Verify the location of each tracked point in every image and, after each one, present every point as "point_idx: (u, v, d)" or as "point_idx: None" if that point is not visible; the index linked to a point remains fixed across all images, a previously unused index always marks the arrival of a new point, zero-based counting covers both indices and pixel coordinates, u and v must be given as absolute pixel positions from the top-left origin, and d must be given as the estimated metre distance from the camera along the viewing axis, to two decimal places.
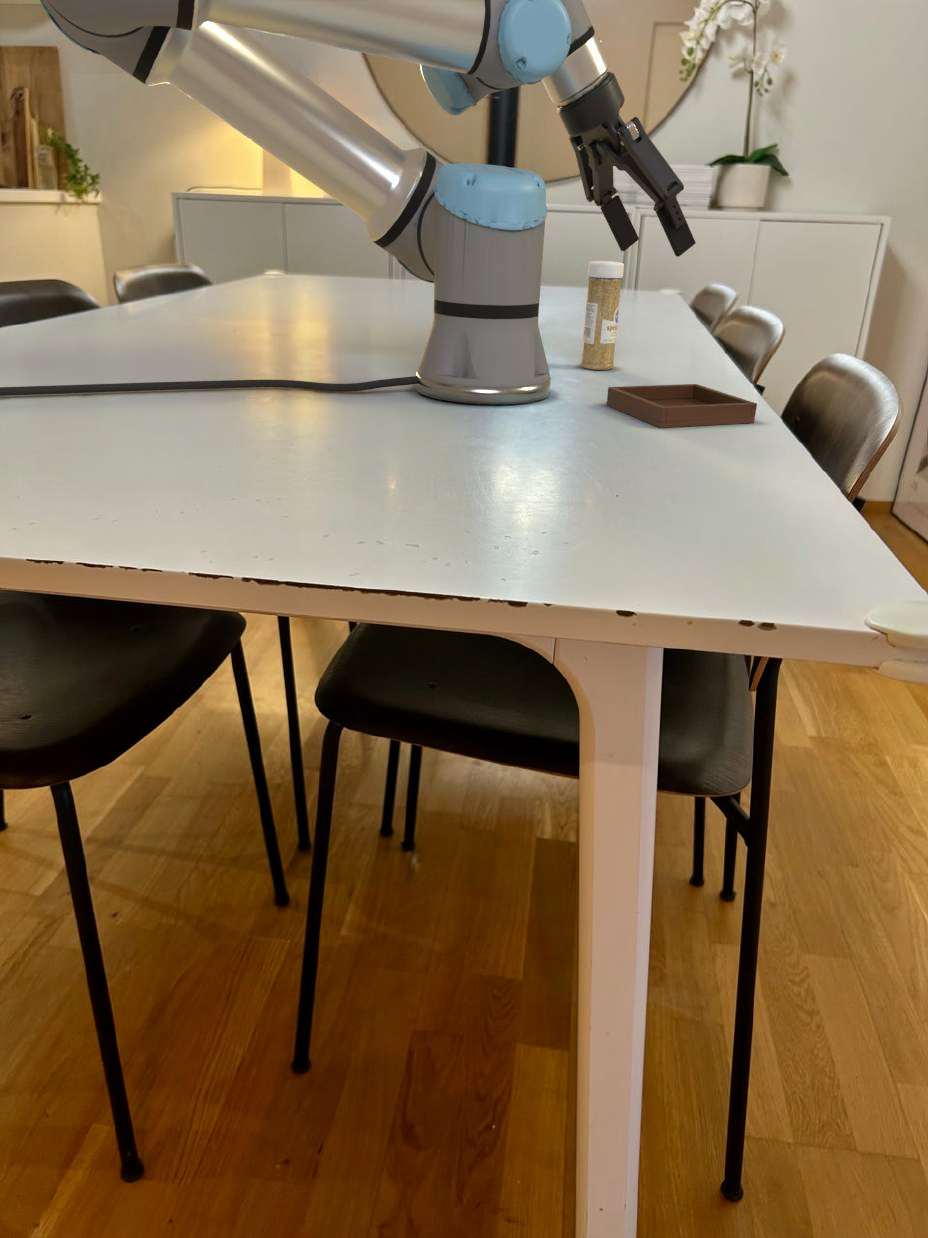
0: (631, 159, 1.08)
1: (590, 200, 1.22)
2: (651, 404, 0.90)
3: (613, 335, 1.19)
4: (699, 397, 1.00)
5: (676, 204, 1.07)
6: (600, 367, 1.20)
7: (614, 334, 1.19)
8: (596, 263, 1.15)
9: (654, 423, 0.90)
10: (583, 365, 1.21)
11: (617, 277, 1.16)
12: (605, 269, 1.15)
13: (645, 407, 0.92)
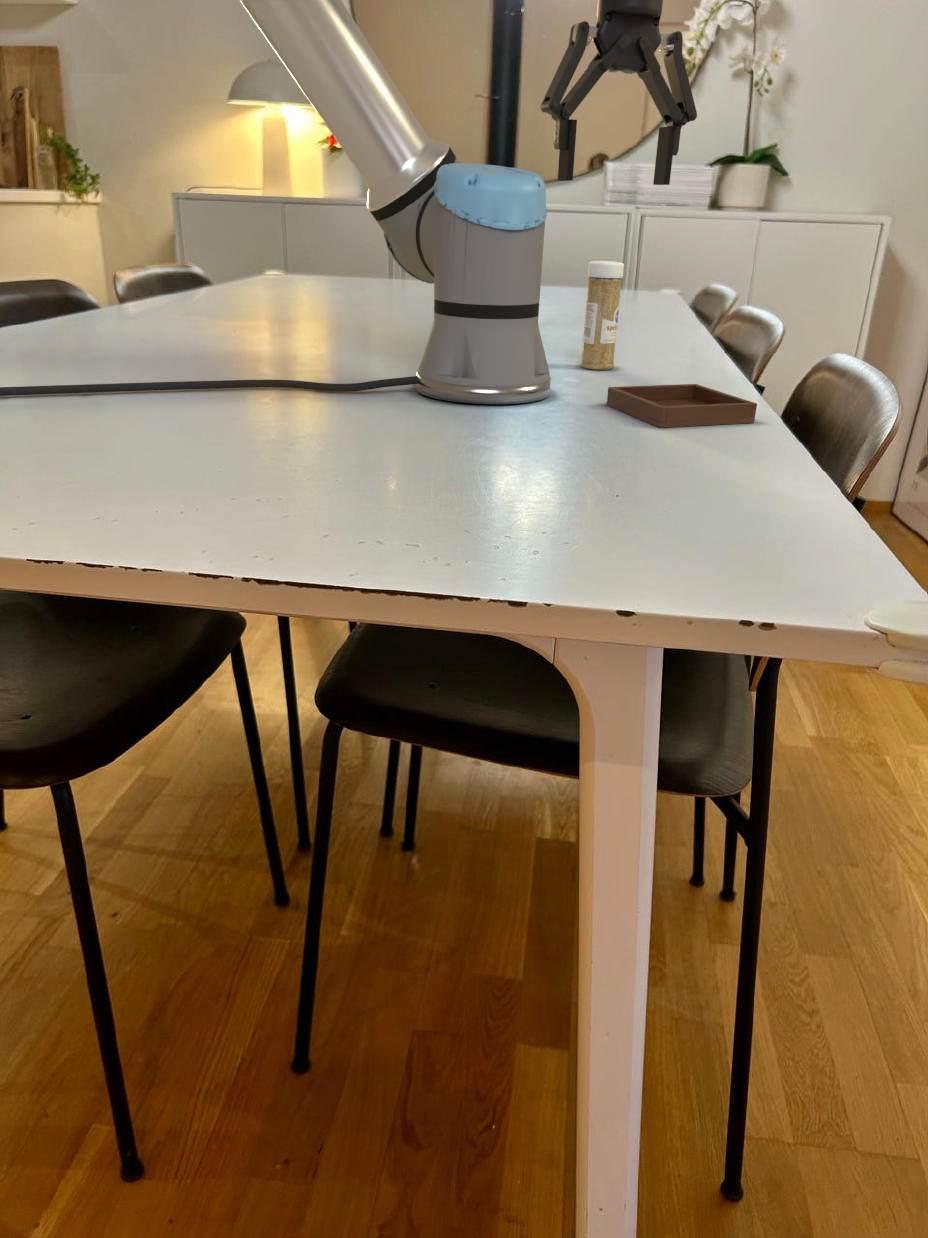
0: None
1: (555, 108, 1.06)
2: (651, 404, 0.90)
3: (613, 335, 1.19)
4: (699, 397, 1.00)
5: None
6: (600, 367, 1.20)
7: (614, 334, 1.19)
8: (596, 263, 1.15)
9: (654, 423, 0.90)
10: (583, 365, 1.21)
11: (617, 277, 1.16)
12: (605, 269, 1.15)
13: (645, 407, 0.92)
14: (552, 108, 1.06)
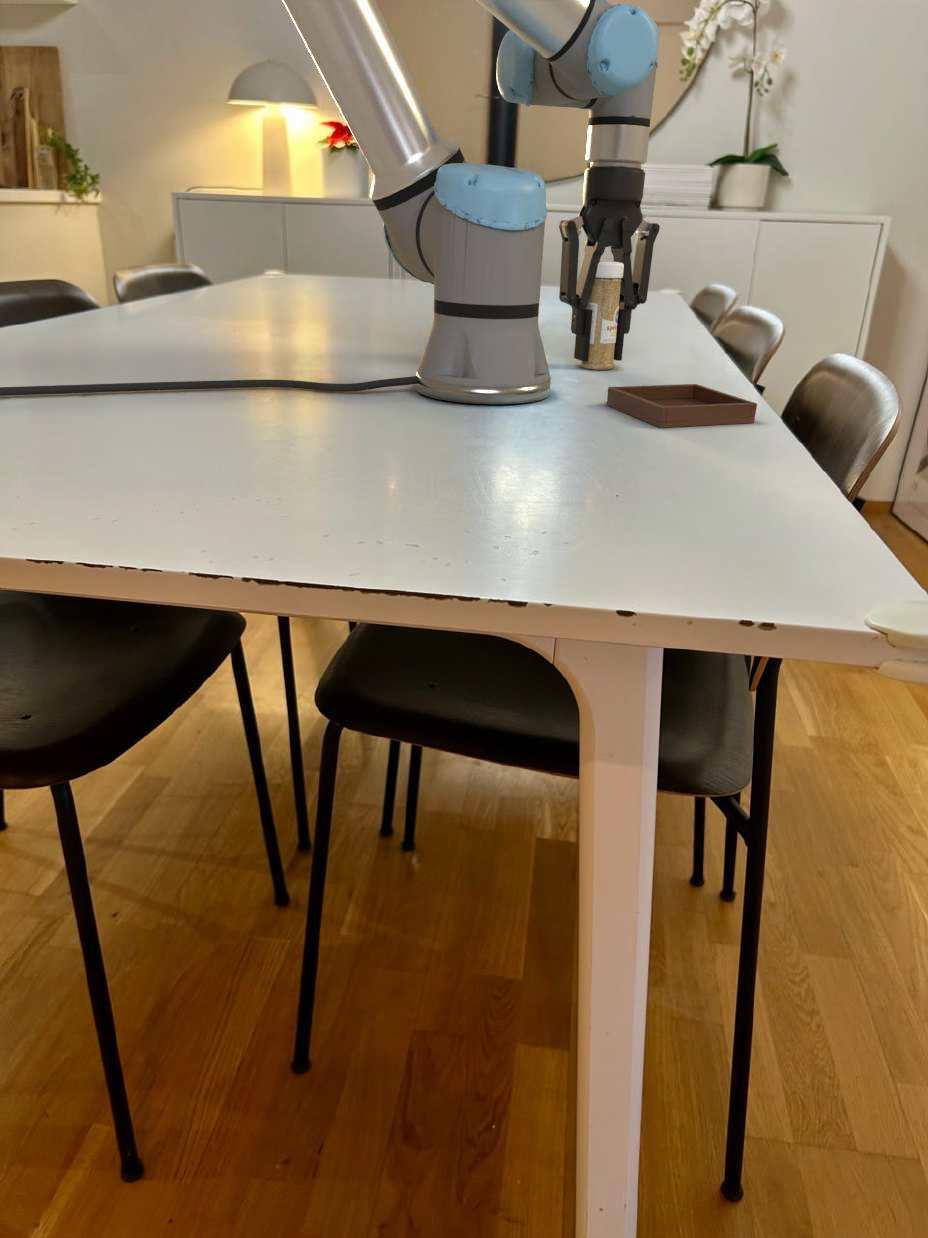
0: None
1: (574, 300, 1.16)
2: (651, 404, 0.90)
3: (613, 335, 1.19)
4: (699, 397, 1.00)
5: None
6: (600, 367, 1.20)
7: (614, 334, 1.19)
8: None
9: (654, 423, 0.90)
10: (583, 365, 1.21)
11: (617, 277, 1.16)
12: (605, 269, 1.15)
13: (645, 407, 0.92)
14: (571, 302, 1.16)
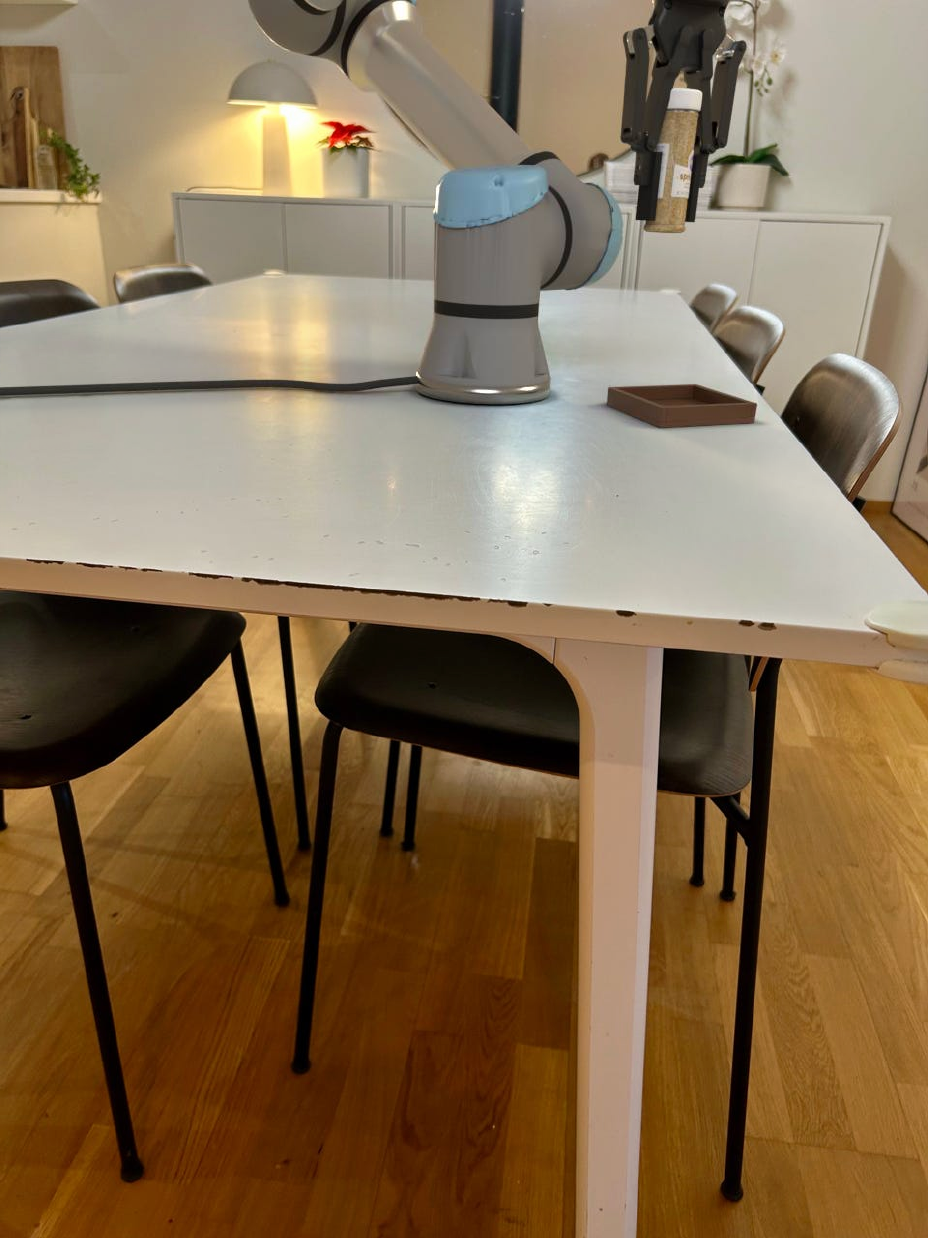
0: None
1: (641, 137, 0.92)
2: (651, 404, 0.90)
3: (687, 187, 0.95)
4: (699, 397, 1.00)
5: None
6: (669, 228, 0.96)
7: (688, 185, 0.95)
8: None
9: (654, 423, 0.90)
10: (648, 228, 0.97)
11: (695, 108, 0.92)
12: (681, 97, 0.91)
13: (645, 407, 0.92)
14: (637, 139, 0.92)
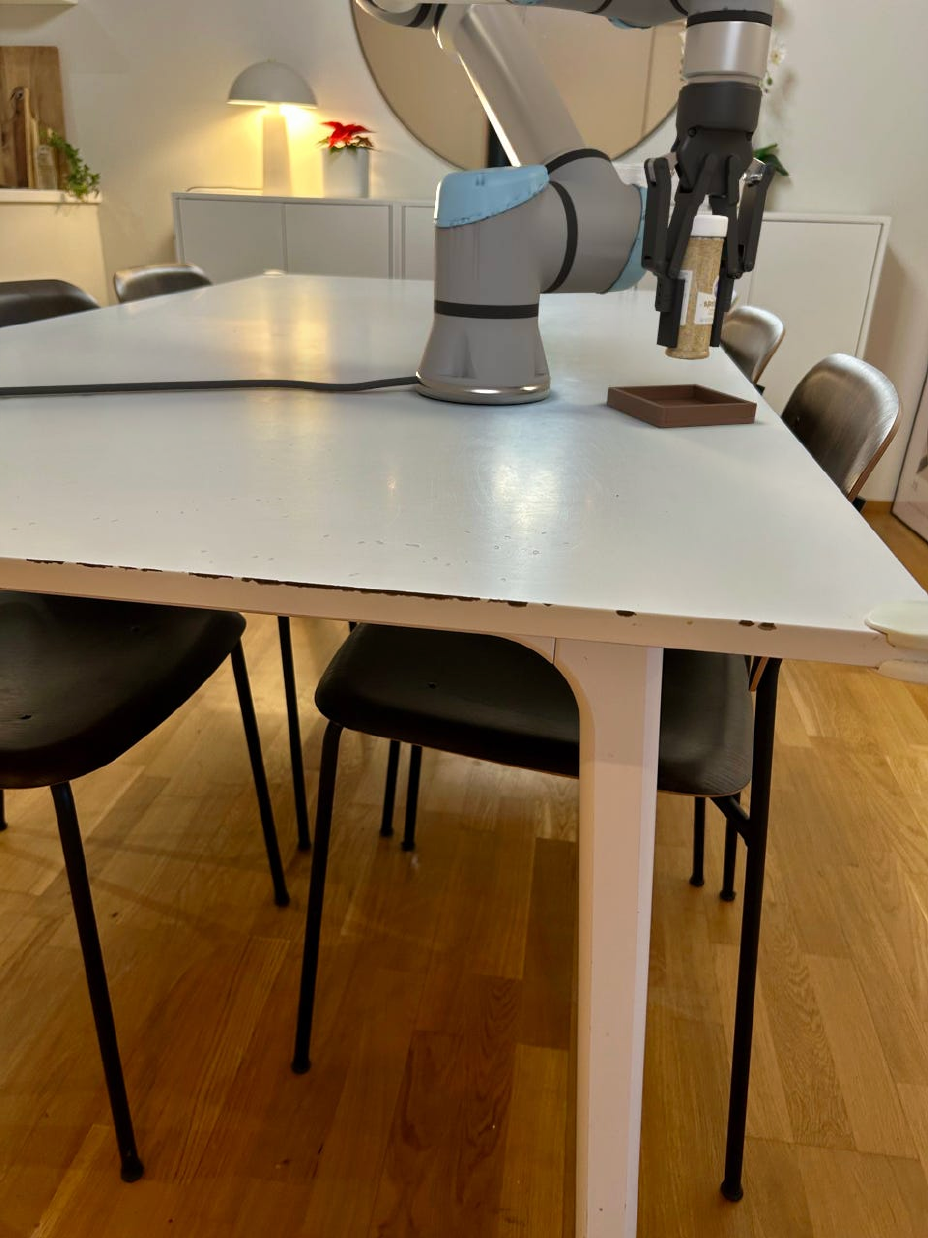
0: None
1: (662, 266, 0.87)
2: (651, 404, 0.90)
3: (711, 313, 0.90)
4: (699, 397, 1.00)
5: None
6: (692, 356, 0.91)
7: (712, 312, 0.90)
8: None
9: (654, 423, 0.90)
10: (669, 353, 0.92)
11: (720, 235, 0.87)
12: (705, 224, 0.86)
13: (645, 407, 0.92)
14: (659, 268, 0.87)
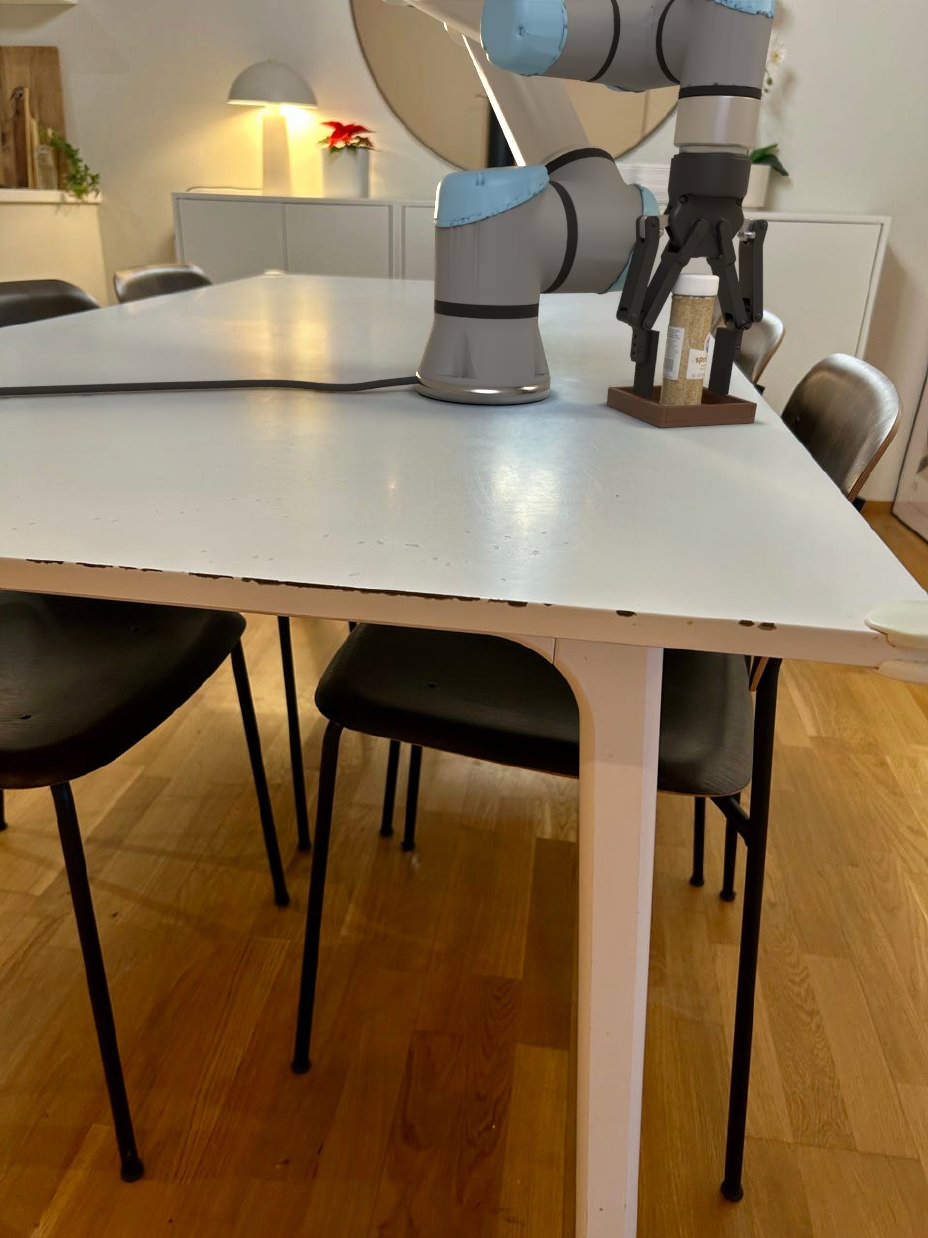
0: None
1: (636, 320, 0.89)
2: (651, 404, 0.90)
3: (703, 368, 0.93)
4: None
5: None
6: None
7: (704, 367, 0.93)
8: (684, 276, 0.89)
9: (654, 423, 0.90)
10: None
11: (711, 295, 0.89)
12: (697, 284, 0.88)
13: (645, 407, 0.92)
14: (632, 321, 0.89)
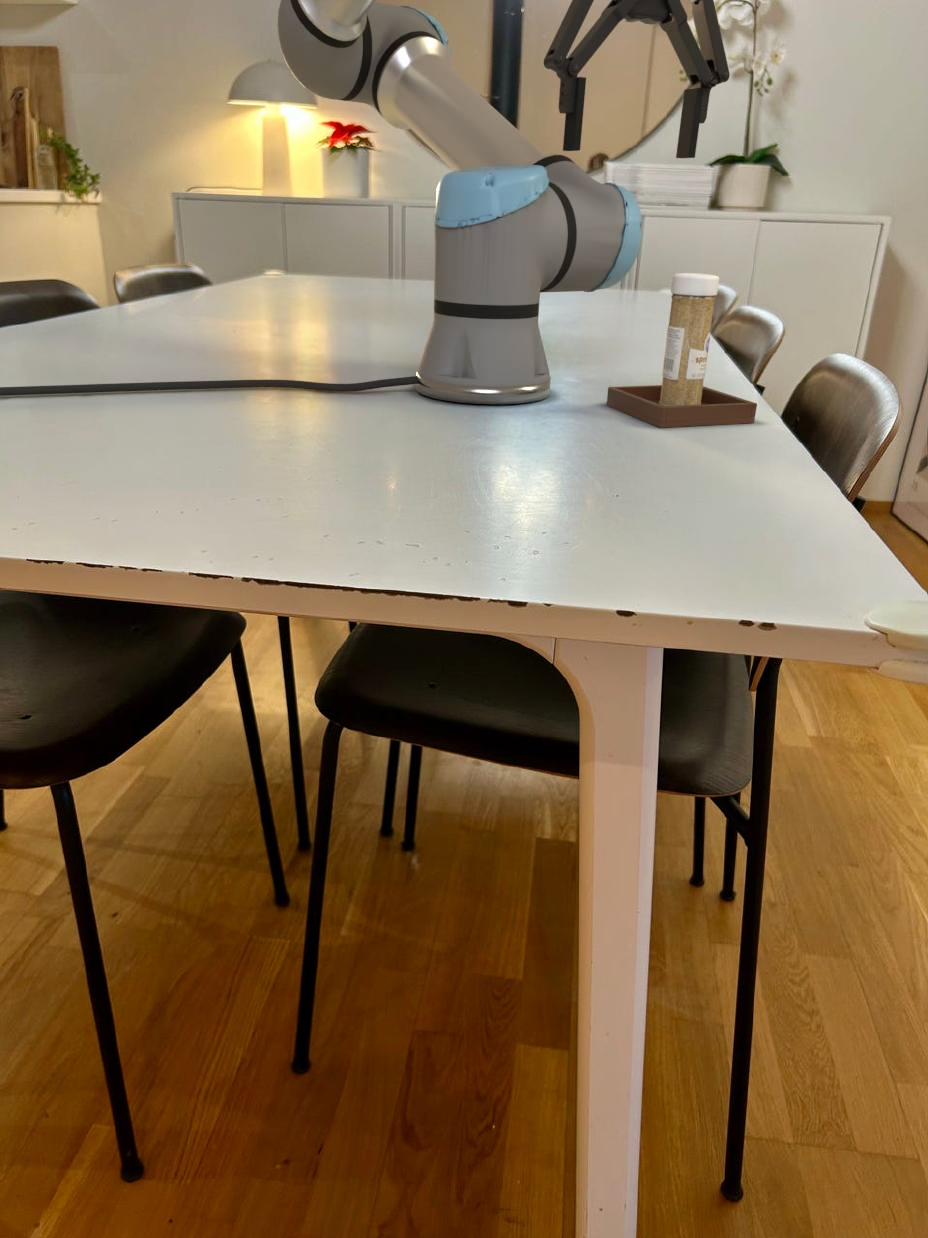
0: None
1: (560, 63, 0.89)
2: (651, 404, 0.90)
3: (703, 368, 0.93)
4: None
5: None
6: None
7: (704, 367, 0.93)
8: (684, 276, 0.89)
9: (654, 423, 0.90)
10: None
11: (711, 295, 0.89)
12: (697, 284, 0.88)
13: (645, 407, 0.92)
14: (557, 63, 0.89)
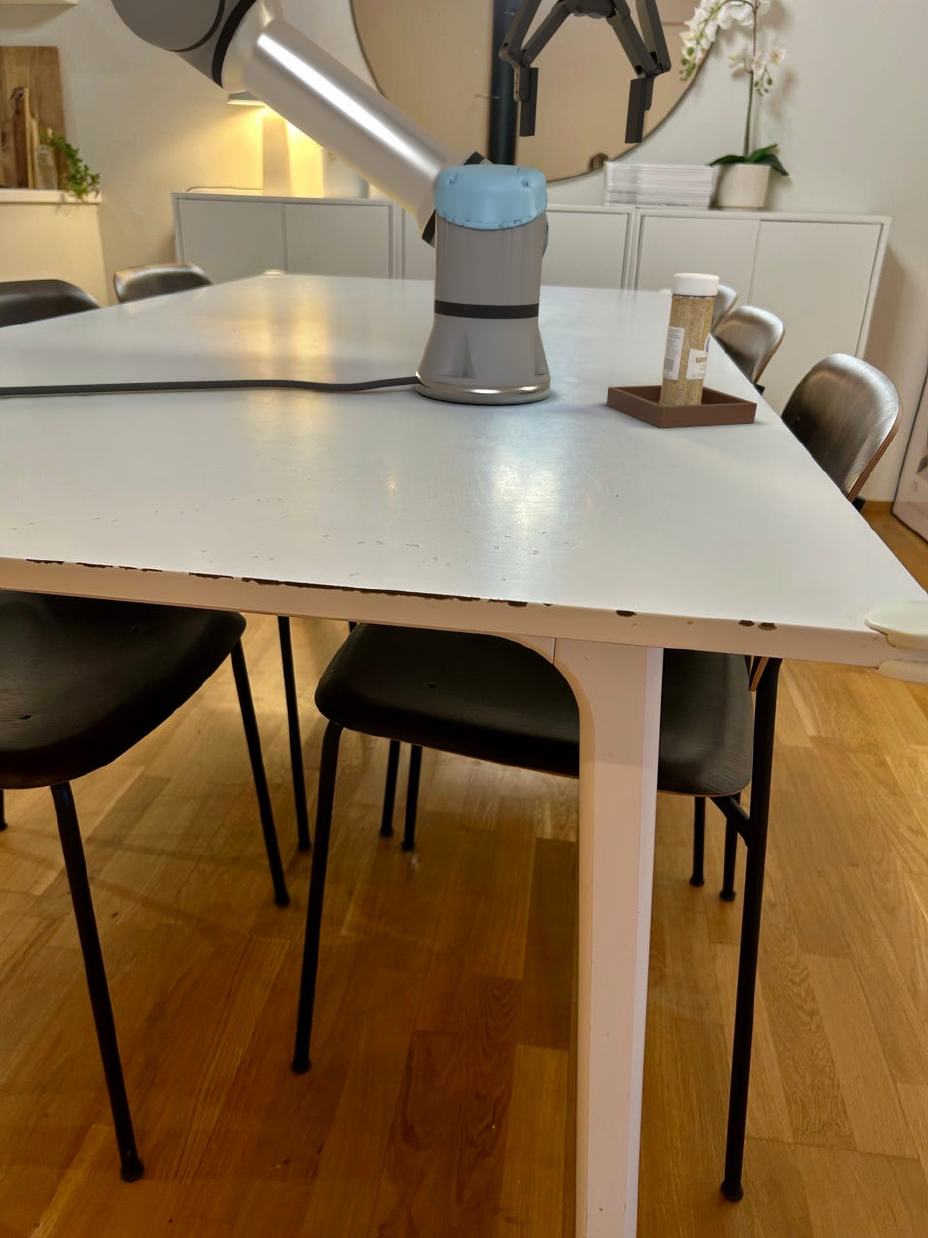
0: None
1: (514, 54, 0.96)
2: (651, 404, 0.90)
3: (703, 368, 0.93)
4: None
5: None
6: None
7: (704, 367, 0.93)
8: (684, 276, 0.89)
9: (654, 423, 0.90)
10: None
11: (711, 295, 0.89)
12: (697, 284, 0.88)
13: (645, 407, 0.92)
14: (511, 54, 0.96)
